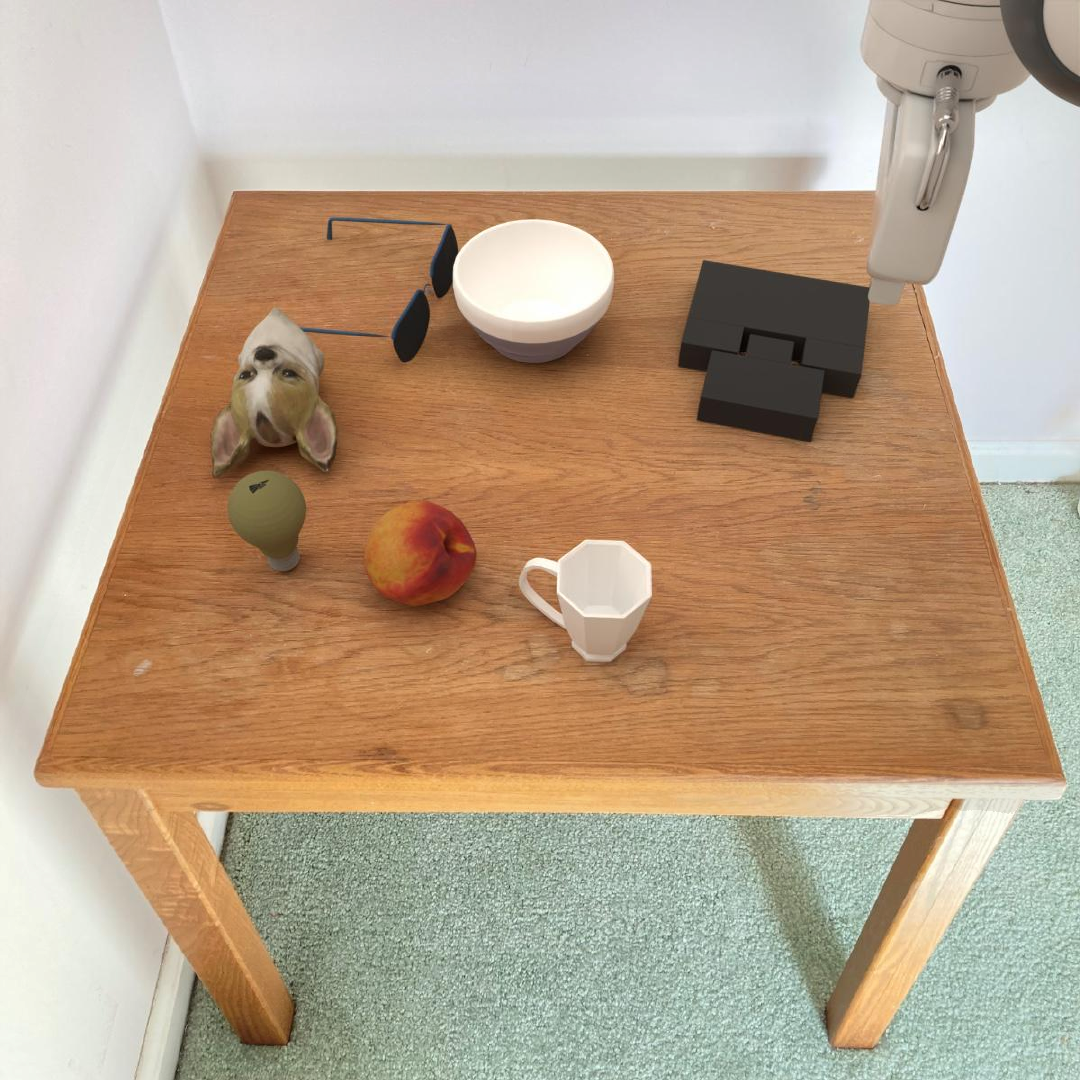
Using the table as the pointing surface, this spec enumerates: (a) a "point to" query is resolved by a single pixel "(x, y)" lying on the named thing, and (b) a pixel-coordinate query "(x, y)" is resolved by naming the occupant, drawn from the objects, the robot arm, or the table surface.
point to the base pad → (779, 320)
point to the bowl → (533, 287)
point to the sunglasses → (417, 312)
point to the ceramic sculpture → (275, 398)
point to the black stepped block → (762, 390)
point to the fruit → (419, 553)
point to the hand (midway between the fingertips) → (887, 248)
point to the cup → (596, 595)
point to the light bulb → (269, 516)
